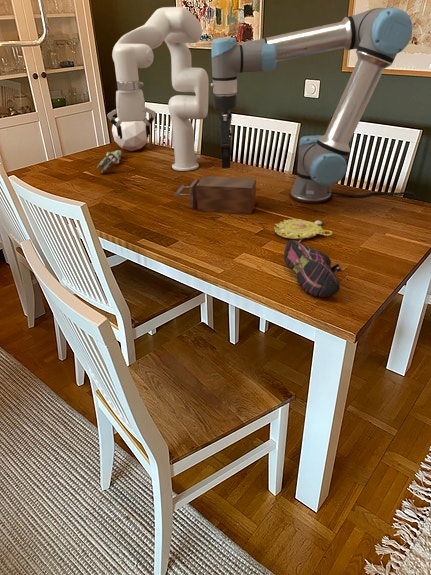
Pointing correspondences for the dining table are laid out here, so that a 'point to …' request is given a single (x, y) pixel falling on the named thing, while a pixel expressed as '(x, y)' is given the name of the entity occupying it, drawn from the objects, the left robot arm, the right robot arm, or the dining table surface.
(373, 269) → the dining table surface
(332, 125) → the right robot arm
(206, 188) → the dark brown low box
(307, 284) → the athletic shoe
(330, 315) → the dining table surface
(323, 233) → the decorative object
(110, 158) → the figurine
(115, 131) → the sphere
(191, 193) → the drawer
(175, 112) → the left robot arm
